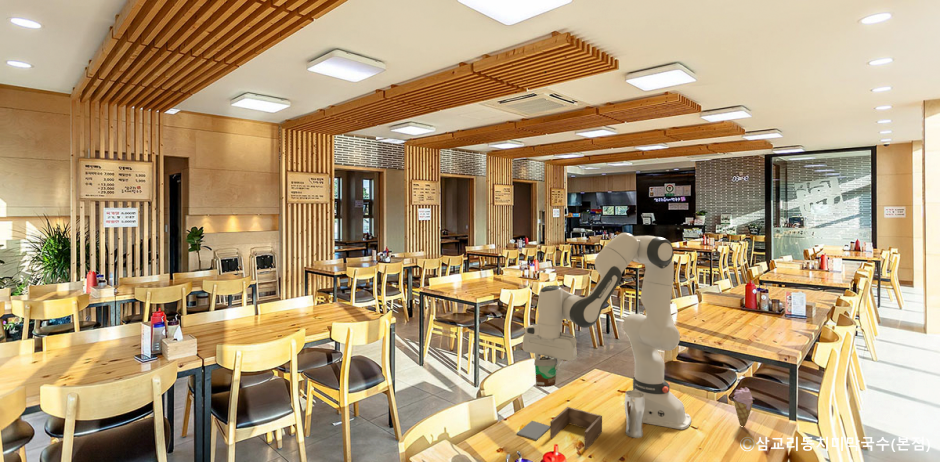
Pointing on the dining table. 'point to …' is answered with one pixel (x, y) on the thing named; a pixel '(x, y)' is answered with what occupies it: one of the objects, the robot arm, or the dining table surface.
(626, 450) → the dining table surface
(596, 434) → the open box
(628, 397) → the beer glass
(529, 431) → the rubber mat
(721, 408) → the dining table surface
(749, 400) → the ice cream cone
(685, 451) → the dining table surface
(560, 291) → the robot arm
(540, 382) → the food container
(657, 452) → the dining table surface
